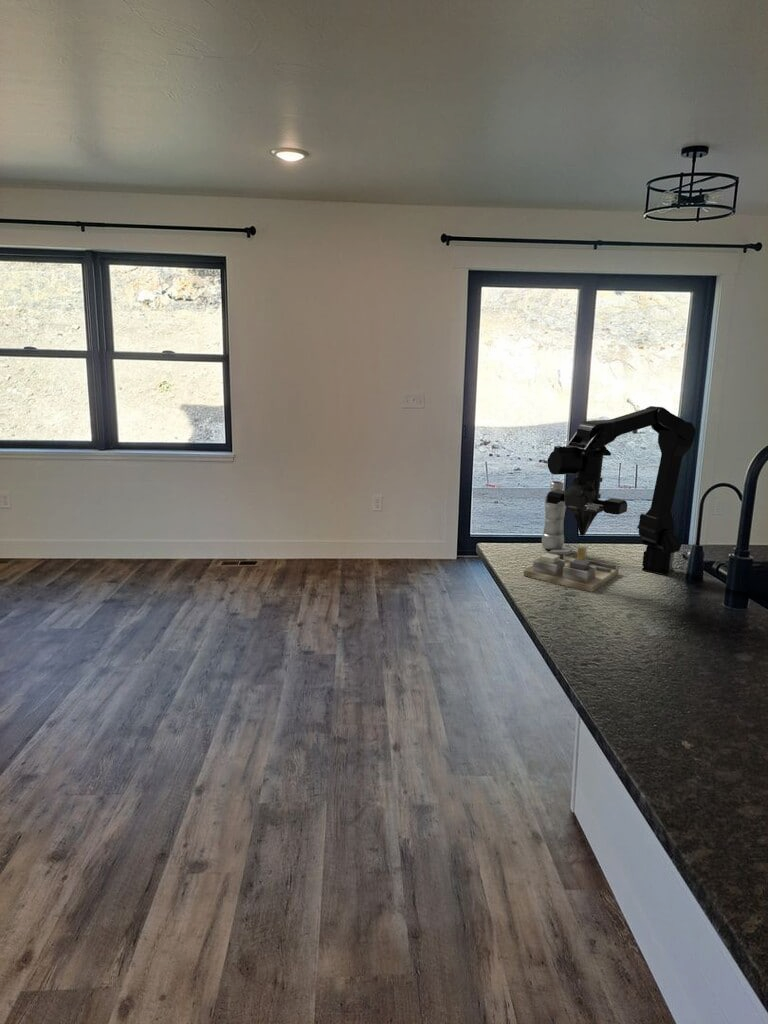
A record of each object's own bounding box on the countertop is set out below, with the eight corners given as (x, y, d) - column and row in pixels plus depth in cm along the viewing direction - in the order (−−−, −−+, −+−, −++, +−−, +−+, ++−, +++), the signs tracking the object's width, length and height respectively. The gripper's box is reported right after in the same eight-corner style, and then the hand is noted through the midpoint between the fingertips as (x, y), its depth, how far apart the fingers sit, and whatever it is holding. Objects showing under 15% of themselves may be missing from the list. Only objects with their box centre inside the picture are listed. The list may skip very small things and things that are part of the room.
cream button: (559, 563, 164) (559, 555, 164) (553, 566, 162) (553, 558, 161) (546, 560, 167) (546, 552, 166) (539, 563, 164) (540, 555, 163)
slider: (587, 563, 170) (589, 547, 169) (584, 565, 169) (586, 549, 168) (577, 560, 172) (578, 545, 171) (573, 562, 171) (575, 547, 170)
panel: (618, 573, 168) (619, 558, 167) (591, 592, 154) (593, 575, 153) (553, 560, 179) (554, 545, 178) (523, 575, 165) (524, 560, 164)
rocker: (572, 552, 173) (572, 549, 173) (568, 554, 171) (567, 551, 171) (552, 552, 177) (552, 549, 176) (548, 554, 174) (548, 552, 174)
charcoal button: (589, 569, 160) (590, 561, 159) (583, 573, 157) (584, 565, 156) (575, 566, 162) (576, 559, 161) (569, 570, 159) (570, 562, 159)
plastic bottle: (540, 551, 187) (545, 483, 182) (541, 545, 193) (546, 479, 189) (563, 553, 185) (568, 485, 181) (563, 547, 191) (569, 481, 187)
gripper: (538, 472, 157) (533, 533, 160) (613, 482, 145) (606, 549, 149) (559, 467, 165) (553, 526, 169) (631, 477, 153) (624, 540, 157)
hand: (582, 535), depth 160 cm, fingers closed
